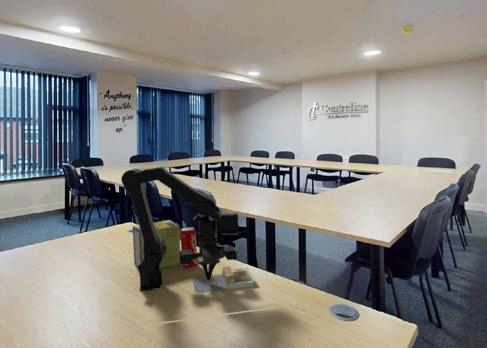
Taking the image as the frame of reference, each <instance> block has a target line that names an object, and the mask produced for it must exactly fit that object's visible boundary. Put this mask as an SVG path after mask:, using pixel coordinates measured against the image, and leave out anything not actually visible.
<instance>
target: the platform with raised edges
mask: <svg viewBox="0 0 487 348" xmlns="http://www.w3.org/2000/svg"><path fill="white" fill-rule="evenodd" d="M240 268H241V267H239V268H238V269H240ZM245 268H246V270H247V281H238V282H234V283H228V286H227V285H226V283H225V280H224V278H223V269H222V270H221V274H213V275H211V278H210V280H207V277H206V275H203V276H196V277H195V276H194V277H192V284H193V287H194V288H193V289H194V291H195V294H200V293H208V292H218V291H225V290H235V289H242V288H250V287H257V283H258V281H257V280H256V278H255V277H254V275H253V274H252V272H251V271H250V269H249V268H248V267H245Z"/></svg>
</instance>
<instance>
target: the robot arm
mask: <svg viewBox="0 0 487 348" xmlns="http://www.w3.org/2000/svg"><path fill="white" fill-rule="evenodd" d="M120 180H121V183H122V186H123V188H124V189H125V192H126V193H127V194H128V196H129V197H130V198H131V201H132V204H133V207H134V211H135V213H136V215H135V216H136V217H137V221H138V225H140V229H141V232H142V236H143V239H144V245H143V253H144V258H143V260H142V261H141V263H140V264H139V265H138V267H137V266H136V267H137V271H138V273H139V291H148V290H149V291H150V290H154V289H160V288H161V285H163V279H162V278H163V273H162V268H160V266H159V264H160V263H161V262H162V260H163V258H164V256H165V254H166V250H167V247H166V245H165V240H164V238H162V239H160V238H159V237H158V236H157V234H156V230H155V227H154V219H153V217H152V213H151V209H150V206H149V205H150V204H149V203H148V198H147V192H146V191H147V183H149V182H155V181H158V182H160V183H161V184H163V185H164V186H166V187H167V188H169V189H170V190H172V191H173V192H175V193H177V194H178V195H179V196H180V197H182V198H184V199H185V200H187V202H189V203H190V204H191V206H192V207H193V208H194V209H195V210H196V211H197V212H198V213H197V214H196V215H195V217H193V219H192V222H193V223H198V246H199V247H198V249H199V250H198V251H199V252H197V253H192V252H191V250H180V252H179V260H180V264H179V265H183V264H190V263H191V262H192V259H196V260H197V263H198V266H201V267H202V269H203V272H204V274H205V276H206V277H207V280H210V278H211V275H212V274H213V272H214V269H215V267H216V266H217V264H220V263H221V260H222V259H223V258H225V259H227V261H233V260H234V261H235V260H237V259H238V252H237V250H236V248H235V247H234V246H223V245H222V246H218V244H217V232H219V234H221V235H240V234H239V231H240V230H239V229H240V228H239V226H240V224H239V223H240V222H239V214H238V213H237V212H236V213H235V212H234V213H223V212H222V211H221V209H220V208H219V206H217V200H216V198H215V197H213V196H212V195H210V194H208V193H205V192H203V191H200V190H197V189H195V188H194V187H192V186H190V185H189V184H187V183H186V181H185V182H184V180H182V179H180V178H179V177H177V176H176V175H175V174H172V173H171V172H170V171H168V170H167V169H166V168H165V167H163V166H159V167H156V168H149V169H148V168H147V169H143V170H142V169H139V168H132V169H128V170H126V171H125V172H123V173H122V176H121V179H120ZM217 223H218V224H217ZM217 229H218V231H217Z"/></svg>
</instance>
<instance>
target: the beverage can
mask: <svg viewBox="0 0 487 348" xmlns="http://www.w3.org/2000/svg"><path fill="white" fill-rule="evenodd" d="M196 235H197V234H196V230H195V227H192V226H187V227H182V228H180V251H182V250H191V252H192V253H198V250H197V249H198V248H197V246H198V245H197V238H196V237H197V236H196ZM198 266H199V265H198V263H197V260H196V259H192V262H191V263H190V264H182V267H183V269H186V270H190V269H191V270H192V269H195V268H197V267H198Z"/></svg>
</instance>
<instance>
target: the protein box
mask: <svg viewBox="0 0 487 348" xmlns="http://www.w3.org/2000/svg"><path fill="white" fill-rule="evenodd" d="M153 223H154V227H155V230H156V234H157V236H158V237H159V238H160V239H162V238H164V240H165V245H166V247H167V250H166V254H165V256H164V258H163V260H162V262H161V263H160V264H159V266H160V269H162V268H164V267H169V266H173V265H181V264H180V260H179V252H180V251H181V238H180V232H181V228H180V224H178V223H176V222H174V221H172V220H170V219H167V220H162V221H156V222H155V221H153ZM132 239H133V259H134V260H133V262H134V265H135V266H136V267H138V265H139V264H140V263H141V261H142V260H143V258H144V253H143V245H144V239H143V236H142V232H141V229H140V225H139V224H136V225H133V226H132Z"/></svg>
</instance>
